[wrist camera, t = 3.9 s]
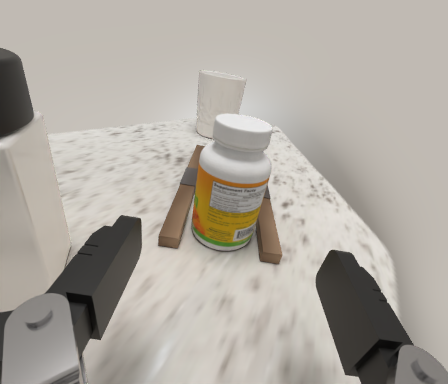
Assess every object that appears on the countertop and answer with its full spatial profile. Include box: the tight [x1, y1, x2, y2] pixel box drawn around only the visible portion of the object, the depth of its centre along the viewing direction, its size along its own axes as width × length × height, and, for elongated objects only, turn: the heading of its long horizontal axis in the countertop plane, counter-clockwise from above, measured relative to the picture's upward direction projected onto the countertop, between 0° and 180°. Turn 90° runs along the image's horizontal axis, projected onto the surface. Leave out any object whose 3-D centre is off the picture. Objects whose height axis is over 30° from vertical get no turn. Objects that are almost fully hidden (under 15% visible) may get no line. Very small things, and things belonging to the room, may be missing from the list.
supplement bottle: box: [192, 114, 272, 251], centre depth 19 cm, size 5×5×10 cm
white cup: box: [196, 70, 246, 139], centre depth 42 cm, size 8×8×10 cm
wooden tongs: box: [158, 145, 282, 264], centre depth 27 cm, size 10×20×1 cm, turn 177°
